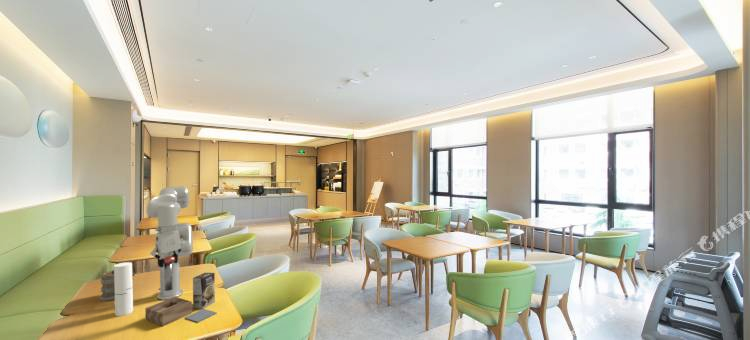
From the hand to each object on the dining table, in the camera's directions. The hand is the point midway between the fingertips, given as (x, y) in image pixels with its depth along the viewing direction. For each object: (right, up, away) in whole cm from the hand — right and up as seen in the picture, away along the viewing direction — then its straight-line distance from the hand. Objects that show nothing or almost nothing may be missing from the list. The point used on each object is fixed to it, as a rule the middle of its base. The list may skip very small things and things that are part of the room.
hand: (168, 264), depth 153 cm
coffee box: (+11, -26, +13) cm, 31 cm away
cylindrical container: (-26, -27, +5) cm, 38 cm away
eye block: (0, -26, 0) cm, 26 cm away
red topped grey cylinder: (0, -13, 0) cm, 13 cm away
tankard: (-45, -27, +25) cm, 58 cm away
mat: (+16, -26, 0) cm, 31 cm away
